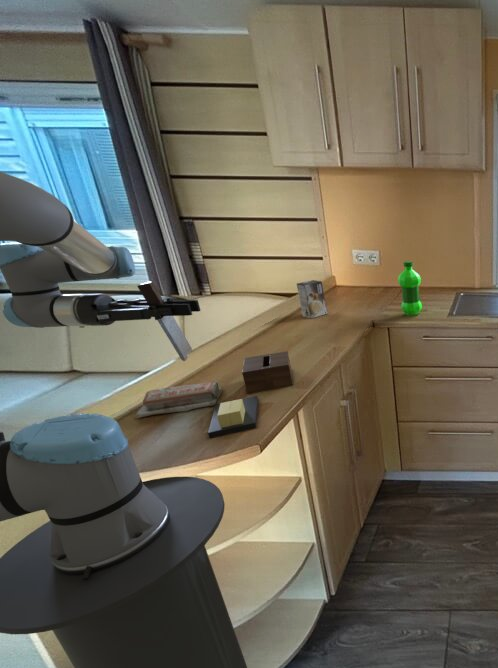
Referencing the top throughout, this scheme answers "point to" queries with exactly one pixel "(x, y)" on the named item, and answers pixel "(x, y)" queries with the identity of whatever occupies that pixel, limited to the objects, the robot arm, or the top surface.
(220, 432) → the cutting board
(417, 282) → the plastic bottle
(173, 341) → the knife
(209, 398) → the packaged product
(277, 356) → the knife block
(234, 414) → the butter right
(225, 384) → the top surface
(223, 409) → the butter left
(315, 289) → the coffee box
